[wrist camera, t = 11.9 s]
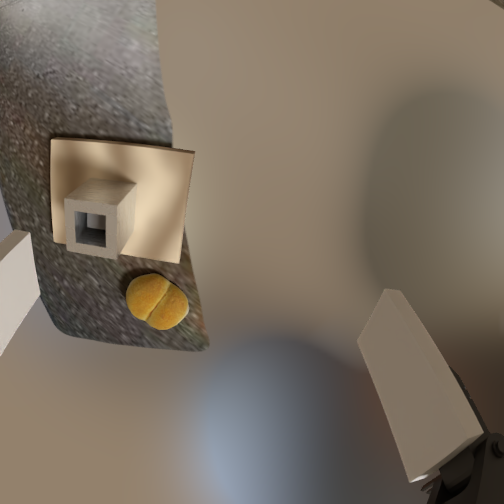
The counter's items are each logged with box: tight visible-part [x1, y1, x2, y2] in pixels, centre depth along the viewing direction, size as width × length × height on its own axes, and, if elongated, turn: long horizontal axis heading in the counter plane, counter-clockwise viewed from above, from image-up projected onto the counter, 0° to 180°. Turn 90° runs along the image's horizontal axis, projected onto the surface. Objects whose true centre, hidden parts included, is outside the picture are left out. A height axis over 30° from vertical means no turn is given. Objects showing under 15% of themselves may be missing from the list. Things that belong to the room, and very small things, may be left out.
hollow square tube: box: [64, 178, 137, 260], centre depth 31 cm, size 6×6×7 cm
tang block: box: [50, 137, 195, 263], centre depth 33 cm, size 18×14×6 cm
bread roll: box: [126, 273, 189, 330], centre depth 42 cm, size 8×9×4 cm
